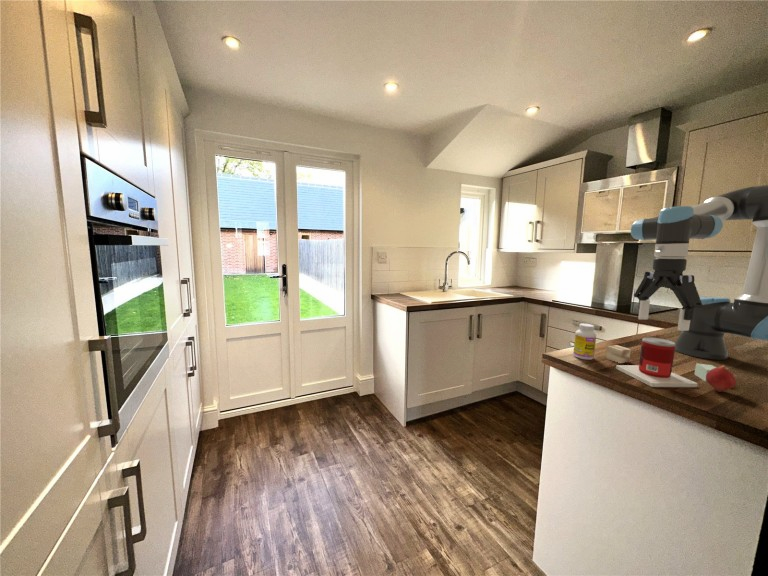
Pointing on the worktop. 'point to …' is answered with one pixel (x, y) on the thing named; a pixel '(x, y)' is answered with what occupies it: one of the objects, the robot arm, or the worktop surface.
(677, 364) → the worktop surface
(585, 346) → the supplement bottle
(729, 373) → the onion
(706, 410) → the worktop surface
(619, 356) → the beech block
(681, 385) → the tray
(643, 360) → the canned food
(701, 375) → the sage block
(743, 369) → the worktop surface
